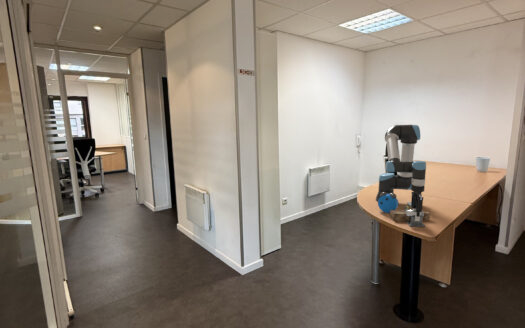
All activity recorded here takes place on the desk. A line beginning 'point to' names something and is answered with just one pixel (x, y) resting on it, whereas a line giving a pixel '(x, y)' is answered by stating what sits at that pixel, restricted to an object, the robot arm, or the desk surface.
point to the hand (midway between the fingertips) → (415, 219)
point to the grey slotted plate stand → (415, 222)
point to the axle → (413, 213)
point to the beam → (400, 215)
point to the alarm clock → (387, 202)
